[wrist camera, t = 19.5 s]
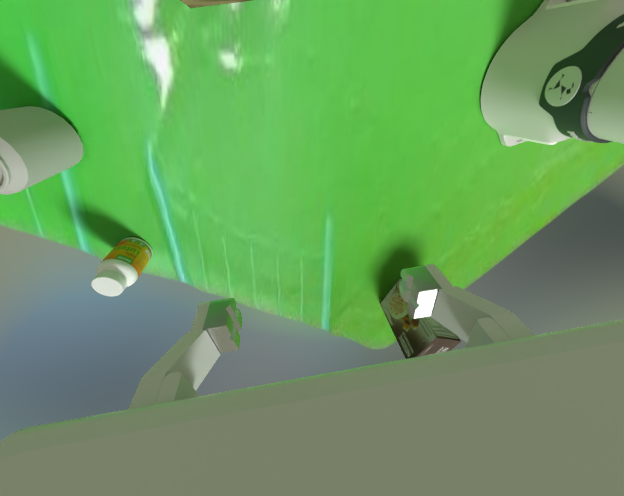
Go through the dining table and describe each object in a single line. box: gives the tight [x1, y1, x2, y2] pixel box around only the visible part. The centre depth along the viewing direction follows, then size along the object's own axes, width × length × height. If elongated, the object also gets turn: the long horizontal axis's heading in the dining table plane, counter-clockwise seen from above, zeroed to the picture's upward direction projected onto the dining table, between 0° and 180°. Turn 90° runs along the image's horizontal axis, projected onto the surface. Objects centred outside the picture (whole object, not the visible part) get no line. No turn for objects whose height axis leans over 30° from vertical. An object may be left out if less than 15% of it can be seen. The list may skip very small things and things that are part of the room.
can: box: [0, 106, 83, 194], centre depth 28 cm, size 8×8×12 cm
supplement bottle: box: [92, 237, 153, 296], centre depth 40 cm, size 5×5×10 cm
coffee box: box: [380, 279, 461, 359], centre depth 54 cm, size 9×6×16 cm
